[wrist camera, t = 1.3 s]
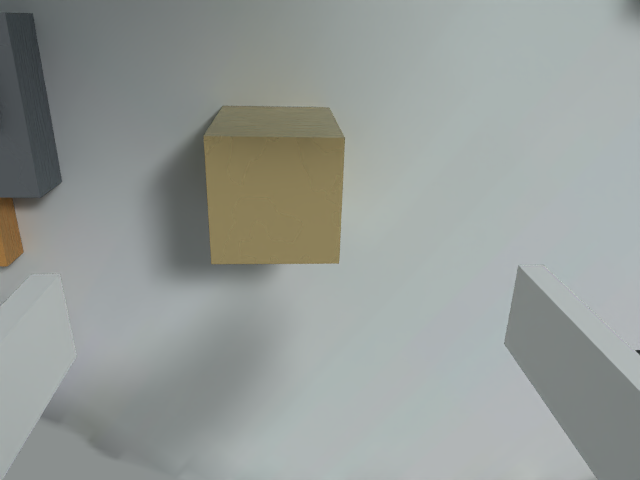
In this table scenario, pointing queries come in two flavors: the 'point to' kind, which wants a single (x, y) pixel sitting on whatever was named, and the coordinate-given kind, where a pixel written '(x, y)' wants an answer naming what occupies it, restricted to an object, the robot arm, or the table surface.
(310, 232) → the tan rectangular block
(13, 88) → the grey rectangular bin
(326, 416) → the table surface
